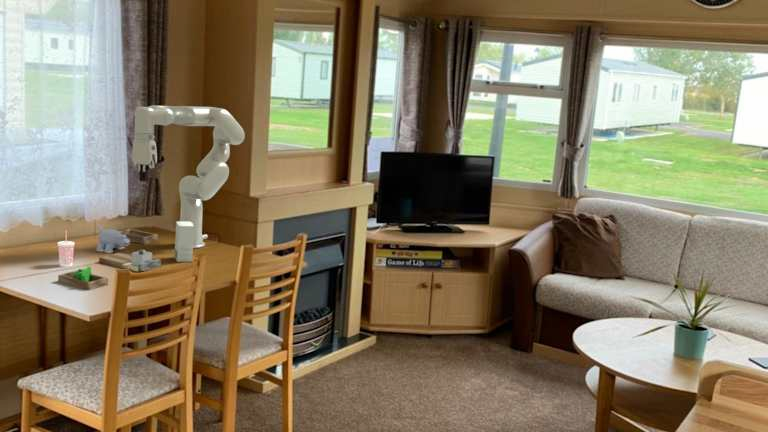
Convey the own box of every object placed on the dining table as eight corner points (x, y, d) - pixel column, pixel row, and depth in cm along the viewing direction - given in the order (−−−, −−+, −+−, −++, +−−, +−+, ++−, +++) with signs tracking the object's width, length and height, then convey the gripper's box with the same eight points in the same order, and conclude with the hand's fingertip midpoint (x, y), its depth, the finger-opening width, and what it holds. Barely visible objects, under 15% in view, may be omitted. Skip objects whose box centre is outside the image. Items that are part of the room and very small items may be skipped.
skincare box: (174, 257, 321) (175, 221, 318) (190, 256, 324) (191, 221, 321) (177, 262, 314) (178, 225, 311) (193, 261, 316) (194, 225, 314)
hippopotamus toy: (120, 255, 318) (120, 233, 316) (90, 250, 322) (90, 228, 320) (136, 250, 328) (136, 228, 326) (106, 245, 332) (106, 224, 330)
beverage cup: (58, 267, 293) (58, 232, 290) (57, 263, 298) (56, 228, 296) (75, 266, 296) (75, 231, 293) (73, 262, 301) (73, 228, 299)
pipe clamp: (80, 278, 281) (80, 266, 280) (91, 278, 282) (91, 266, 281) (73, 287, 270) (73, 275, 269) (84, 288, 271) (84, 275, 270)
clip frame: (130, 235, 353) (130, 228, 353) (157, 241, 347) (157, 234, 346) (116, 238, 346) (116, 231, 345) (144, 244, 339) (144, 237, 338)
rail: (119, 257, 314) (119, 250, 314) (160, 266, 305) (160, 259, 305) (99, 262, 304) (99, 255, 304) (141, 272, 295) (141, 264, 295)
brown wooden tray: (76, 276, 283) (76, 270, 283) (107, 284, 277) (108, 278, 276) (58, 281, 275) (58, 275, 275) (89, 289, 269) (89, 283, 269)
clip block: (141, 262, 305) (141, 247, 304) (151, 264, 302) (152, 250, 301) (131, 265, 300) (131, 250, 299) (142, 267, 298) (142, 252, 296)
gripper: (164, 138, 315) (163, 182, 319) (137, 134, 322) (136, 177, 325) (151, 139, 309) (150, 184, 312) (124, 135, 315) (123, 179, 318)
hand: (143, 180), depth 319 cm, fingers closed
